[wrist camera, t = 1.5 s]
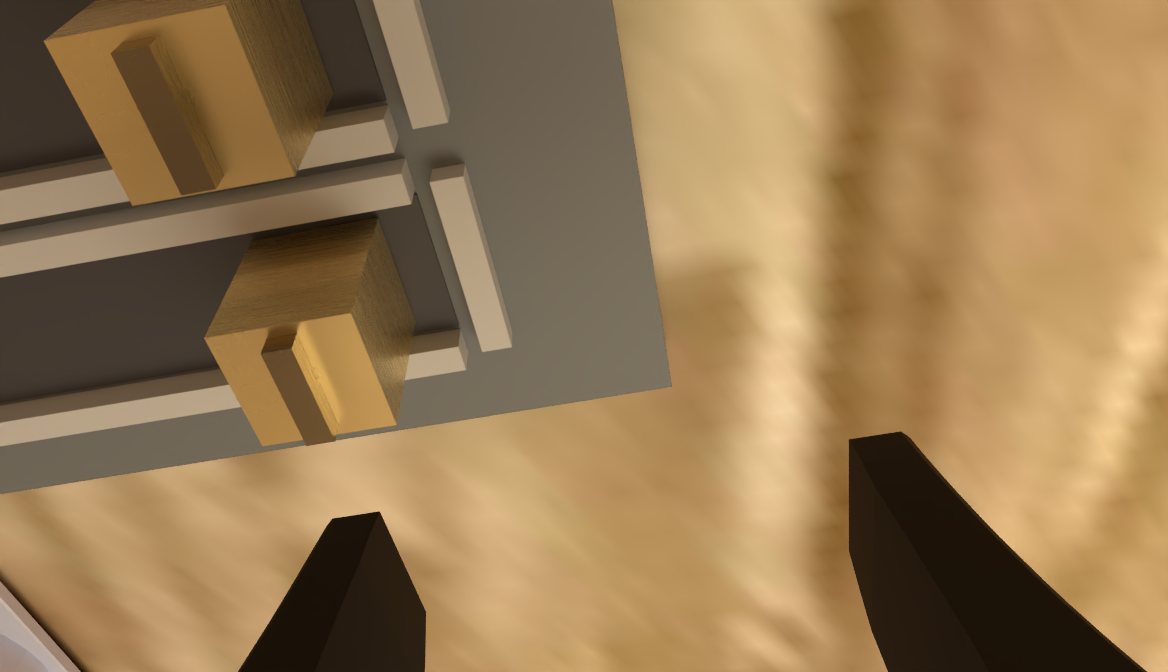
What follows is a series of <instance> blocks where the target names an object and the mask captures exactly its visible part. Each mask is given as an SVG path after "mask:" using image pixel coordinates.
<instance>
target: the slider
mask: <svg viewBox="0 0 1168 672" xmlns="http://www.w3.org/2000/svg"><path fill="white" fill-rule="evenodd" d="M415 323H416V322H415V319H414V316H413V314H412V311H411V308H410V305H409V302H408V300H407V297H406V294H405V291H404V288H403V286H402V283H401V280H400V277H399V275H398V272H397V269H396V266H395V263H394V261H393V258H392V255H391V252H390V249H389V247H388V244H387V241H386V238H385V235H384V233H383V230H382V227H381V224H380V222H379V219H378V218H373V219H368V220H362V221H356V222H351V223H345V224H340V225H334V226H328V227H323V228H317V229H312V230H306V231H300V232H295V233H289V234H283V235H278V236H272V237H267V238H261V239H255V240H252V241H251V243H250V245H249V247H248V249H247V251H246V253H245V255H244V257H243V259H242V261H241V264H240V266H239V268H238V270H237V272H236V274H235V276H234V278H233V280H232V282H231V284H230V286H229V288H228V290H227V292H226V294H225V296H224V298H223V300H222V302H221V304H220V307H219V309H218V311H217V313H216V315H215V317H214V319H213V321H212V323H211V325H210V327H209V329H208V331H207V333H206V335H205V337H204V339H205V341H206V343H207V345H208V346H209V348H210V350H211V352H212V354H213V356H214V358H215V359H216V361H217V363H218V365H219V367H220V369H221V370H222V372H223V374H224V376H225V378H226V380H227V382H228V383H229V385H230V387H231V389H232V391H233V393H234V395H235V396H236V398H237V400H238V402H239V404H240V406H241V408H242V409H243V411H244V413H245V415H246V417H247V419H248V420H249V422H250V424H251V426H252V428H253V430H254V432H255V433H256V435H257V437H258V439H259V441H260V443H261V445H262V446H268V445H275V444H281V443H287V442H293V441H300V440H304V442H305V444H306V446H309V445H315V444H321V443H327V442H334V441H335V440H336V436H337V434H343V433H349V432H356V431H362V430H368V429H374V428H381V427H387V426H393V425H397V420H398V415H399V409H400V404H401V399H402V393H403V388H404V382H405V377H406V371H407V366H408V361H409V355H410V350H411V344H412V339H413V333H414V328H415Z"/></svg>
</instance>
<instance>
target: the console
mask: <svg viewBox="0 0 1168 672" xmlns="http://www.w3.org/2000/svg"><path fill="white" fill-rule="evenodd" d="M94 1H95V0H0V494H4V493H10V492H16V491H23V490H29V489H35V488H41V487H48V486H54V485H60V484H66V483H73V482H79V481H85V480H91V479H98V478H104V477H110V476H117V475H123V474H129V473H135V472H142V471H148V470H154V469H160V468H167V467H173V466H179V465H185V464H192V463H198V462H204V461H210V460H217V459H223V458H229V457H235V456H242V455H248V454H254V453H260V452H267V451H273V450H279V449H285V448H292V447H298V446H304V445H306V444H305V442H304V440H300V441H293V442H287V443H281V444H275V445H268V446H262V445H261V443H260V441H259V439H258V437H257V435H256V433H255V432H254V430H253V428H252V426H251V424H250V422H249V420H248V419H247V417H246V415H245V413H244V411H243V409H242V408H241V406H240V404H239V402H238V400H237V398H236V396H235V395H234V393H233V391H232V389H231V387H230V385H229V383H228V382H227V380H226V378H225V376H224V374H223V372H222V370H221V369H220V367H219V365H218V363H217V361H216V359H215V358H214V356H213V354H212V352H211V350H210V348H209V346H208V345H207V343H206V341H205V339H204V337H205V335H206V333H207V331H208V329H209V327H210V325H211V323H212V321H213V319H214V317H215V315H216V313H217V311H218V309H219V307H220V304H221V302H222V300H223V298H224V296H225V294H226V292H227V290H228V288H229V286H230V284H231V282H232V280H233V278H234V276H235V274H236V272H237V270H238V268H239V266H240V264H241V261H242V259H243V257H244V255H245V253H246V251H247V249H248V247H249V245H250V243H251V241H252V240H255V239H261V238H267V237H272V236H278V235H283V234H289V233H295V232H300V231H306V230H312V229H317V228H323V227H328V226H334V225H340V224H345V223H351V222H356V221H362V220H368V219H373V218H378V219H379V222H380V224H381V227H382V230H383V233H384V235H385V238H386V241H387V244H388V247H389V249H390V252H391V255H392V258H393V261H394V263H395V266H396V269H397V272H398V275H399V277H400V280H401V283H402V286H403V288H404V291H405V294H406V297H407V300H408V302H409V305H410V308H411V311H412V314H413V316H414V319H415V322H416V323H415V328H414V333H413V339H412V344H411V350H410V355H409V361H408V366H407V371H406V377H405V382H404V388H403V393H402V399H401V404H400V409H399V415H398V420H397V425H393V426H387V427H381V428H374V429H368V430H362V431H356V432H349V433H343V434H337V436H336V440H342V439H348V438H354V437H360V436H367V435H373V434H379V433H385V432H392V431H398V430H404V429H410V428H417V427H423V426H429V425H435V424H442V423H448V422H454V421H460V420H467V419H473V418H479V417H486V416H492V415H498V414H504V413H511V412H517V411H523V410H529V409H536V408H542V407H548V406H554V405H561V404H567V403H573V402H579V401H586V400H592V399H598V398H604V397H611V396H617V395H623V394H629V393H636V392H642V391H648V390H654V389H661V388H667V387H672V383H671V377H670V370H669V364H668V358H667V351H666V345H665V338H664V332H663V325H662V319H661V312H660V306H659V299H658V293H657V287H656V280H655V274H654V267H653V261H652V254H651V248H650V241H649V235H648V229H647V222H646V216H645V209H644V203H643V196H642V190H641V183H640V177H639V171H638V164H637V158H636V151H635V145H634V138H633V132H632V125H631V119H630V113H629V106H628V100H627V93H626V87H625V80H624V74H623V67H622V61H621V55H620V48H619V42H618V35H617V29H616V22H615V16H614V9H613V3H612V0H300V1H301V4H302V7H303V10H304V12H305V15H306V18H307V21H308V23H309V26H310V29H311V32H312V35H313V37H314V40H315V43H316V46H317V49H318V51H319V54H320V57H321V60H322V63H323V65H324V68H325V71H326V74H327V76H328V79H329V82H330V85H331V88H332V90H333V93H334V94H333V96H332V98H331V100H330V102H329V104H328V107H327V109H326V111H325V113H324V115H323V117H322V119H321V122H320V124H319V126H318V128H317V130H316V132H315V134H314V137H313V139H312V141H311V143H310V145H309V147H308V150H307V152H306V154H305V156H304V158H303V160H302V162H301V165H300V167H299V169H298V171H297V173H296V175H295V176H294V177H289V178H283V179H278V180H272V181H267V182H261V183H256V184H250V185H245V186H239V187H234V188H228V189H223V190H217V191H212V192H207V193H201V194H196V195H190V196H185V197H179V198H174V199H168V200H163V201H157V202H152V203H146V204H141V205H135V206H132V204H131V202H130V200H129V198H128V196H127V195H126V193H125V191H124V189H123V187H122V185H121V183H120V182H119V180H118V178H117V176H116V174H115V172H114V171H113V169H112V167H111V165H110V163H109V161H108V159H107V158H106V156H105V154H104V152H103V150H102V148H101V146H100V145H99V143H98V141H97V139H96V137H95V135H94V134H93V132H92V130H91V128H90V126H89V124H88V122H87V121H86V119H85V117H84V115H83V113H82V111H81V109H80V108H79V106H78V104H77V102H76V100H75V98H74V96H73V95H72V93H71V91H70V89H69V87H68V85H67V84H66V82H65V80H64V78H63V76H62V74H61V72H60V71H59V69H58V67H57V65H56V63H55V61H54V59H53V58H52V56H51V54H50V52H49V50H48V48H47V47H46V45H45V43H44V40H45V39H47V38H48V37H49V36H50V35H52V34H53V33H54V32H56V31H57V30H58V29H59V28H61V27H62V26H63V25H64V24H66V23H67V22H68V21H70V20H71V19H72V18H73V17H75V16H76V15H77V14H78V13H80V12H81V11H82V10H84V9H85V8H86V7H87V6H89V5H90V4H91V3H92V2H94Z"/></svg>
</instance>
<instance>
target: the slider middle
mask: <svg viewBox="0 0 1168 672" xmlns="http://www.w3.org/2000/svg"><path fill="white" fill-rule="evenodd" d="M44 43H45V45H46V47H47V48H48V50H49V52H50V54H51V56H52V58H53V59H54V61H55V63H56V65H57V67H58V69H59V71H60V72H61V74H62V76H63V78H64V80H65V82H66V84H67V85H68V87H69V89H70V91H71V93H72V95H73V96H74V98H75V100H76V102H77V104H78V106H79V108H80V109H81V111H82V113H83V115H84V117H85V119H86V121H87V122H88V124H89V126H90V128H91V130H92V132H93V134H94V135H95V137H96V139H97V141H98V143H99V145H100V146H101V148H102V150H103V152H104V154H105V156H106V158H107V159H108V161H109V163H110V165H111V167H112V169H113V171H114V172H115V174H116V176H117V178H118V180H119V182H120V183H121V185H122V187H123V189H124V191H125V193H126V195H127V196H128V198H129V200H130V202H131V204H132V206H135V205H141V204H146V203H152V202H157V201H163V200H168V199H174V198H179V197H185V196H190V195H196V194H201V193H207V192H212V191H217V190H223V189H228V188H234V187H239V186H245V185H250V184H256V183H261V182H267V181H272V180H278V179H283V178H289V177H294V176H295V175H296V173H297V171H298V169H299V167H300V165H301V162H302V160H303V158H304V156H305V154H306V152H307V150H308V147H309V145H310V143H311V141H312V139H313V137H314V134H315V132H316V130H317V128H318V126H319V124H320V122H321V119H322V117H323V115H324V113H325V111H326V109H327V107H328V104H329V102H330V100H331V98H332V96H333V94H334V93H333V90H332V88H331V85H330V82H329V79H328V76H327V74H326V71H325V68H324V65H323V63H322V60H321V57H320V54H319V51H318V49H317V46H316V43H315V40H314V37H313V35H312V32H311V29H310V26H309V23H308V21H307V18H306V15H305V12H304V10H303V7H302V4H301V1H300V0H95V1H94V2H92V3H91V4H90V5H89V6H87V7H86V8H85V9H84V10H82V11H81V12H80V13H78V14H77V15H76V16H75V17H73V18H72V19H71V20H70V21H68V22H67V23H66V24H64V25H63V26H62V27H61V28H59V29H58V30H57V31H56V32H54V33H53V34H52V35H50V36H49V37H48V38H47V39H45V40H44Z"/></svg>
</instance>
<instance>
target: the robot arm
mask: <svg viewBox="0 0 1168 672" xmlns="http://www.w3.org/2000/svg"><path fill="white" fill-rule="evenodd" d="M849 552H850V556H851V559H852V563H853V567H854V570H855V574H856V578H857V581H858V585H859V588H860V592H861V596H862V599H863V602H864V606H865V609H866V613H867V616H868V620H869V623H870V627H871V630H872V633H873V635H874V638H875V640H876V643H877V645H878V648H879V650H880V653H881V655H882V658H883V660H884V663H885V665H886V668H887V670H888V672H1147V671H1146V670H1144V669H1143V668H1142V667H1141V666H1140V665H1138V664H1137V663H1136V662H1135V661H1133V660H1132V659H1131V658H1130V657H1129V656H1128V655H1126V654H1125V653H1124V652H1123V651H1122V650H1121V649H1119V648H1118V647H1117V646H1116V645H1115V644H1114V643H1112V642H1111V641H1110V640H1109V639H1108V638H1107V637H1105V636H1104V635H1103V634H1102V633H1101V632H1100V631H1099V630H1098V629H1096V628H1095V627H1094V626H1093V625H1092V624H1091V623H1090V622H1089V621H1087V620H1086V619H1085V618H1084V617H1083V616H1082V615H1081V614H1080V613H1079V612H1077V611H1076V610H1075V609H1074V608H1073V607H1072V606H1071V605H1070V604H1068V603H1067V602H1066V601H1065V600H1064V599H1063V598H1062V597H1061V596H1060V595H1059V594H1058V593H1057V592H1056V591H1055V590H1053V589H1052V588H1051V587H1050V586H1049V585H1048V584H1047V583H1046V582H1045V581H1044V580H1043V579H1042V578H1041V577H1040V576H1039V575H1038V574H1037V573H1036V572H1035V571H1034V570H1033V569H1032V568H1031V567H1030V566H1029V565H1028V564H1027V563H1026V562H1024V561H1023V560H1022V559H1021V558H1020V557H1019V556H1018V555H1017V554H1016V553H1015V552H1014V551H1013V550H1012V549H1011V548H1010V547H1009V546H1008V545H1007V544H1006V543H1005V542H1004V541H1003V540H1002V539H1001V538H1000V537H999V536H998V535H997V534H996V533H995V532H994V531H993V530H992V529H991V528H990V527H989V526H988V525H987V523H986V522H985V521H984V520H983V519H982V518H981V517H980V516H979V515H978V514H977V513H976V512H975V511H974V510H973V509H972V508H971V507H970V505H969V504H968V503H967V502H966V501H965V500H964V499H963V498H962V497H961V496H960V495H959V494H958V493H957V491H956V490H955V489H954V488H953V487H952V486H951V485H950V484H949V483H948V482H947V480H946V479H945V478H944V477H943V476H942V475H941V474H940V473H939V471H938V470H937V469H936V468H935V467H934V466H933V465H932V463H931V462H930V461H929V460H928V459H927V458H926V456H925V455H924V454H923V453H922V452H921V451H920V449H919V448H918V447H917V446H916V445H915V443H914V442H913V441H912V440H911V438H910V437H908V436H907V435H905V434H904V433H902V432H895V433H888V434H882V435H875V436H869V437H862V438H856V439H849ZM425 637H426V611H425V609H424V607H423V605H422V602H421V600H420V598H419V596H418V594H417V592H416V589H415V587H414V585H413V583H412V581H411V579H410V576H409V574H408V572H407V570H406V568H405V565H404V563H403V561H402V559H401V557H400V555H399V552H398V550H397V548H396V546H395V544H394V542H393V539H392V537H391V535H390V533H389V531H388V529H387V526H386V524H385V522H384V520H383V518H382V515H381V513H380V512H373V513H367V514H360V515H354V516H347V517H341V518H334V519H332V520H331V521H330V523H329V524H328V525H327V527H326V528H325V530H324V532H323V533H322V535H321V537H320V538H319V540H318V542H317V543H316V545H315V547H314V548H313V550H312V552H311V554H310V555H309V557H308V559H307V560H306V562H305V564H304V565H303V567H302V569H301V570H300V572H299V574H298V576H297V577H296V579H295V581H294V582H293V584H292V586H291V587H290V589H289V591H288V592H287V594H286V596H285V597H284V599H283V601H282V602H281V604H280V606H279V607H278V609H277V611H276V612H275V614H274V615H273V617H272V619H271V620H270V622H269V624H268V625H267V627H266V628H265V630H264V632H263V633H262V635H261V636H260V638H259V639H258V641H257V643H256V644H255V646H254V647H253V649H252V651H251V652H250V654H249V655H248V657H247V658H246V660H245V662H244V663H243V665H242V666H241V668H240V669H239V671H238V672H425ZM0 672H81V671H80V670H79V669H78V668H77V667H76V666H75V664H74V663H73V662H72V661H71V660H70V659H69V658H68V657H67V656H66V654H65V653H64V652H63V651H62V650H61V649H60V648H59V647H58V645H57V644H56V643H55V642H54V641H53V640H52V639H51V638H50V636H49V635H48V634H47V633H46V632H45V631H44V630H43V629H42V627H41V626H40V625H39V624H38V623H37V622H36V621H35V620H34V619H33V617H32V616H31V615H30V614H29V613H28V612H27V611H26V610H25V608H24V607H23V606H22V605H21V604H20V603H19V602H18V601H17V599H16V598H15V597H14V596H13V595H12V594H11V593H10V592H9V590H8V589H7V588H6V587H5V586H4V585H3V584H2V583H1V582H0Z"/></svg>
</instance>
